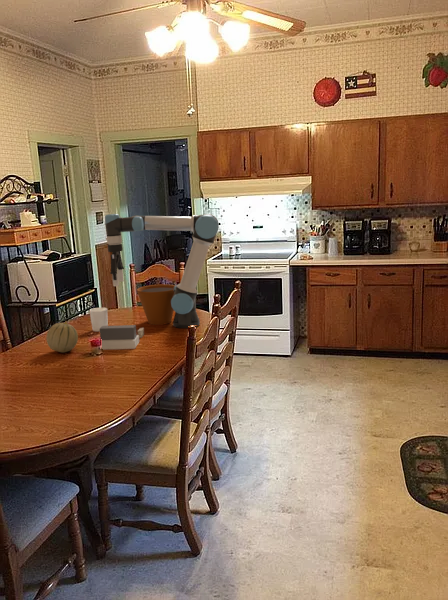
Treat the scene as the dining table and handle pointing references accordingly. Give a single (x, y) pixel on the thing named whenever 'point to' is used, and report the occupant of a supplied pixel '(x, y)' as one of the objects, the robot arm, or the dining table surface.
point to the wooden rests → (141, 332)
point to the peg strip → (118, 332)
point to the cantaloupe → (62, 337)
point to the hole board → (120, 344)
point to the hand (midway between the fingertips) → (118, 283)
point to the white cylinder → (98, 318)
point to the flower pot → (157, 303)
